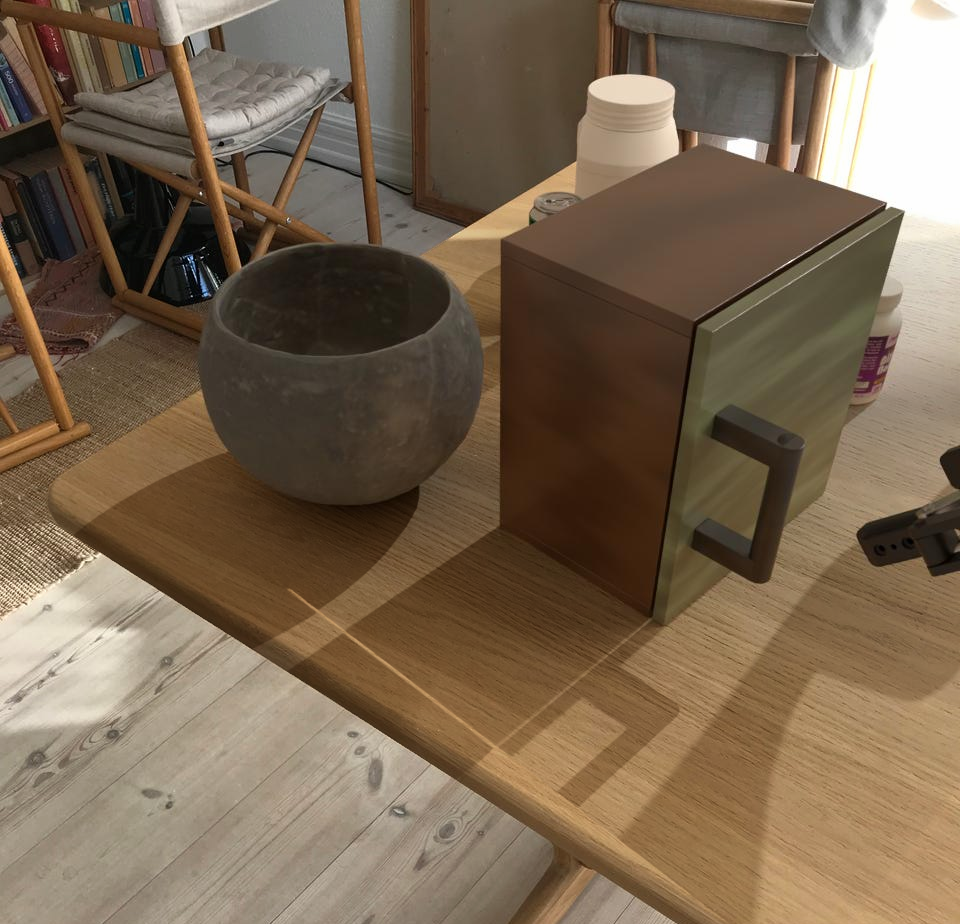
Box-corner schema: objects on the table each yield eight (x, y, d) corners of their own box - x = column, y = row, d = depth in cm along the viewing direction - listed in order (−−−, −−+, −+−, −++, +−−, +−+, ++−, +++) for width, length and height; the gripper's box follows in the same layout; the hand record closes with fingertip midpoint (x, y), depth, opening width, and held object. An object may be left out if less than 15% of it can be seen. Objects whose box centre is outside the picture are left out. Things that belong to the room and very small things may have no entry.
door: (887, 523, 77) (988, 237, 61) (729, 667, 67) (800, 370, 51) (813, 487, 80) (890, 205, 64) (651, 619, 70) (696, 325, 54)
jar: (667, 269, 105) (687, 111, 94) (572, 267, 105) (581, 110, 94) (660, 219, 113) (677, 68, 102) (572, 218, 113) (579, 68, 102)
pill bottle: (883, 409, 87) (917, 303, 80) (818, 404, 88) (846, 298, 81) (877, 375, 91) (909, 270, 84) (815, 370, 91) (841, 265, 84)
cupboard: (810, 487, 80) (887, 202, 64) (648, 619, 70) (693, 321, 54) (664, 415, 87) (702, 142, 71) (499, 526, 77) (500, 238, 61)
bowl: (366, 595, 72) (342, 411, 61) (168, 487, 81) (118, 309, 70) (534, 455, 83) (539, 278, 72) (344, 373, 92) (324, 204, 81)
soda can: (582, 344, 95) (591, 214, 86) (527, 344, 95) (530, 215, 86) (578, 316, 98) (586, 188, 90) (525, 316, 98) (528, 189, 90)
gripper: (1287, 253, 43) (942, 389, 57) (1157, 392, 36) (800, 508, 50) (1355, 413, 44) (1001, 507, 58) (1242, 577, 37) (870, 640, 51)
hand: (908, 507), depth 54 cm, fingers open, 8 cm apart
